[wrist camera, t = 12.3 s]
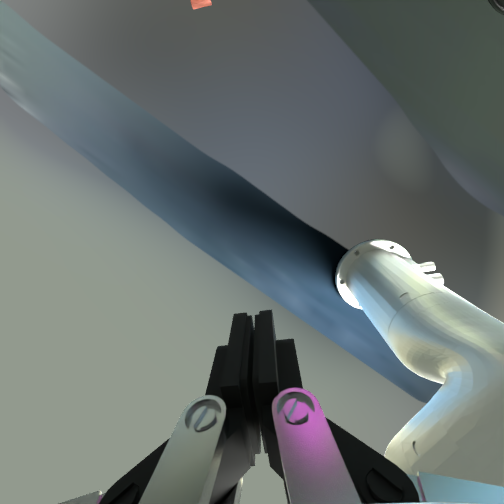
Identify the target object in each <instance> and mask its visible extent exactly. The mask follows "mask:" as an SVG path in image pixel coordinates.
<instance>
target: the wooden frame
mask: <svg viewBox="0 0 504 504" xmlns="http://www.w3.org/2000/svg"><path fill="white" fill-rule="evenodd" d="M191 5H192V8H193V9H197V8H201V7H205V6H209V5H212V4H211V0H191Z"/></svg>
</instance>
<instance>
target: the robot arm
mask: <svg viewBox="0 0 504 504" xmlns="http://www.w3.org/2000/svg"><path fill="white" fill-rule="evenodd" d="M389 246H390V247H389ZM355 251H356V252H355ZM354 252H355V253H354ZM433 270H435V265H434V263H433V262H427V263H422V264H417V263H415V262H414V261H412V259H411V256H410V255H409V253H408V252H407V251H406V250H405V249H404V248H402V247H401V246H400V245H398V244H396V243H394V242H392V241H389V240H384V239H373V240H368V241H365V242H362V243H360V244H358V245H356V246H354V247H353V248H351V249H350V250H349V251H348V252H347V253H346V254H345V255H344V256H343V257H342V259H341V260H340V262H339V264H338V267H337V269H336V275H335V282H336V286H337V289H338V291H339V293H340V295H341V296H342V298H343V299H344V300H345V301H346V302H347V303H349V304H350V305H352V306H354V307H356V308H359V309H363V311H364V312H365V314H366V315H367V316H368V318H369V319H370V320H371V322H372V323H373V325H374V326H375V327H376V329H377V330H378V331H379V333H380V334H381V335H382V337H383V338H384V340H385V341H386V342H387V344H388V345H389V346H390V348H391V349H392V351H393V352H394V353H395V354H396V356H397V357H398V358H399V360H400V361H401V362H402V363H403V364H404V365H405V366H406V367H407V368H409V369H410V370H411V371H413V372H414V373H416V374H418V375H419V376H421V377H424V378H426V379H429V380H432V381H435V382H438V383H442V384H443V386H442V387H441V388H440V389H439V390H438V391H437V393H436V394H435V395H434V396H433V397H432V399H431V400H430V401H429V402H428V403H427V404H426V405H425V406H424V407H423V408H422V409H421V410H420V411H419V412H418V413H417V414H416V415H415V416H414V417H413V418H412V419H411V420H410V421H409V422H408V423H407V424H406V425H405V426H404V427H403V428H402V429H401V431H400V432H399V433H398V434H397V435H396V436H395V437H394V438H393V439H392V441H391V442H390V444H389V445H388V447H387V449H386V452H385V456H382V455H381V454H379V453H378V452H376V451H375V450H373V449H372V448H370V447H369V446H367V445H366V444H365V443H363V442H361V441H360V440H358V439H357V438H356V437H354V436H353V435H351V434H350V433H348V432H346V431H345V430H344V429H342V428H341V427H339V426H338V425H336V424H335V423H333V422H332V421H330V420H329V419H327V418H326V417H325V416H324V414H323V411H322V409H321V406H320V404H319V402H318V400H317V399H316V397H315V396H314V395H313V394H311V392H309V391H307V390H305V389H303V387H302V381H301V376H300V371H299V366H298V360H297V355H296V349H295V344H294V339H285V340H276V335H275V328H274V321H273V314H272V310H265V311H260V312H259V315H255V328H254V326H253V320H252V316H251V315H250V316H247V313H238V314H234V316H233V321H232V327H231V333H230V337H229V343H228V345H225V346H218V347H217V350H216V354H215V358H214V362H213V366H212V370H211V374H210V378H209V382H208V386H207V390H206V394H205V396H202V397H199V398H197V399H195V400H193V401H192V402H191V403H190V404H188V405H187V406H186V408H185V409H184V411H183V412H182V414H181V416H180V418H179V420H178V422H177V425H176V427H175V429H174V431H173V433H172V435H171V437H170V438H169V439H168V440H167V441H166V442H164V443H163V444H162V445H161V446H159V447H158V448H157V449H156V450H155V451H153V452H152V453H151V454H150V455H148V456H147V457H146V458H145V459H144V460H142V461H141V462H140V463H139V464H137V466H135V467H134V468H133V469H131V470H130V471H129V472H128V473H127V474H126V475H124V476H123V477H122V478H120V479H119V480H118V481H117V482H116V483H115V484H114V485H113V486H112V487H111V488H110V489H109V490H108V491H107V492H106V493H104V494H102V493H101V491H96V492H93V493H90V494H87V495H84V496H81V497H78V498H75V499H71V500H68V501H65V502H62V503H59V504H239V502H240V497H241V491H242V482H243V479H242V477H243V475H244V474H245V473H246V472H247V471H248V470H249V469H250V466H255V454H260V452H261V435H262V440H263V445H264V450H265V453H268V457H269V463H270V467H271V468H272V469H273V470H274V471H275V472H276V473H277V474H278V475H279V476H280V477H281V478H282V479H283V483H284V489H285V494H286V499H287V503H288V504H504V323H502V322H500V321H499V320H497V319H495V318H494V317H492V316H491V315H489V314H487V313H485V312H484V311H482V310H480V309H479V308H477V307H476V306H474V305H473V304H471V303H469V302H468V301H466V300H465V299H463V298H462V297H460V296H458V295H457V294H455V293H454V292H452V291H451V290H449V289H447V288H446V287H444V286H443V283H444V280H443V277H442V275H441V274H439V273H437V274H431V275H426V274H424V273H423V272H424V271H425V272H427V271H433ZM340 280H341V281H340Z"/></svg>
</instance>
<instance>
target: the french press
mask: <svg viewBox="0 0 504 504" xmlns="http://www.w3.org/2000/svg"><path fill="white" fill-rule="evenodd" d="M489 2H490V3H491V5H492V6H493V8H495V9H496V10H497V11H498V12H499V13H501V14H503V15H504V0H489Z"/></svg>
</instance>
